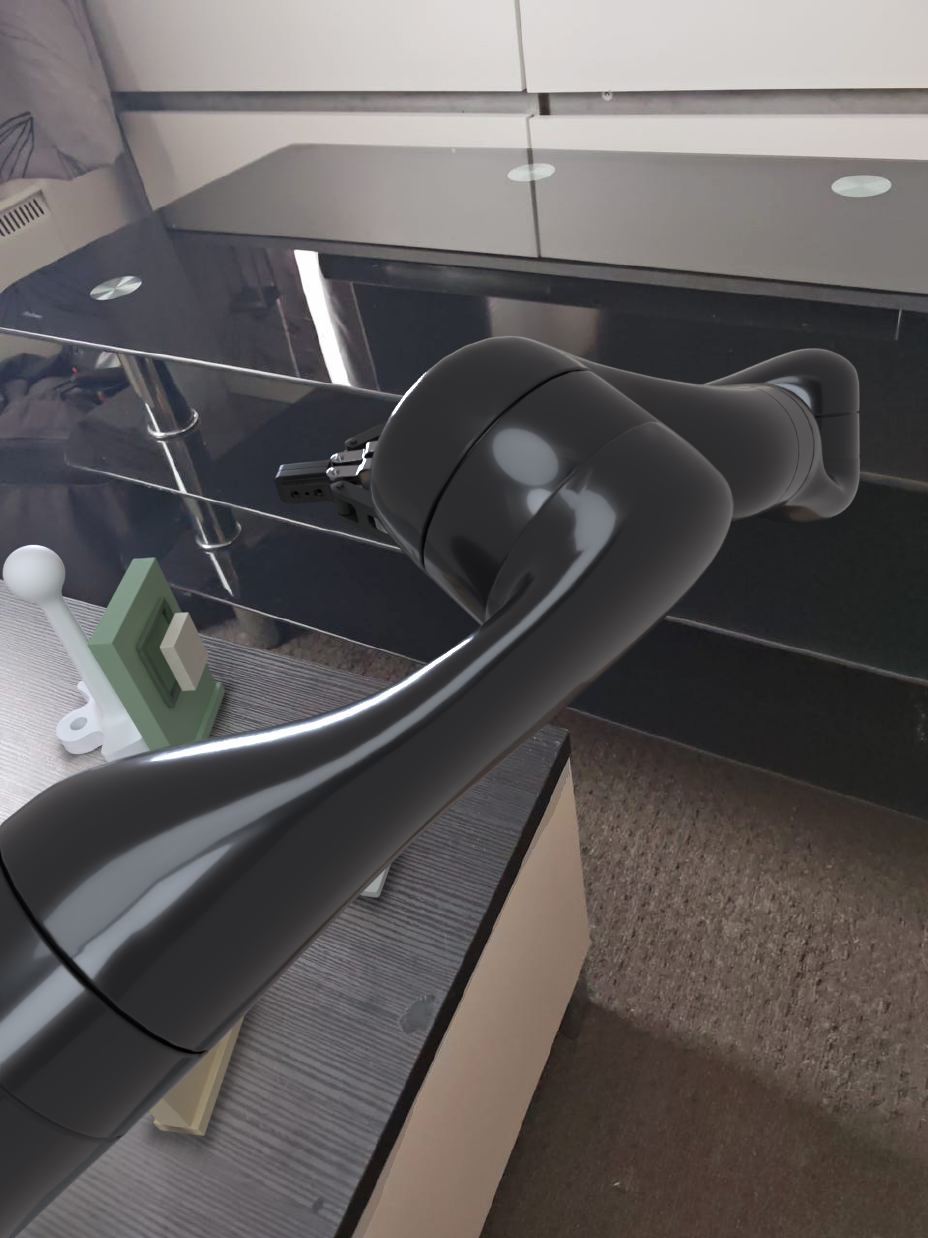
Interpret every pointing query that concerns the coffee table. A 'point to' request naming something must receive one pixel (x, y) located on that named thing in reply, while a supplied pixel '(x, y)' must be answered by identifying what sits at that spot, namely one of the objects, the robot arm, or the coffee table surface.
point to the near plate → (196, 1091)
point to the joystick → (74, 659)
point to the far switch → (184, 651)
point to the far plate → (151, 661)
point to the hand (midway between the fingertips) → (279, 484)
